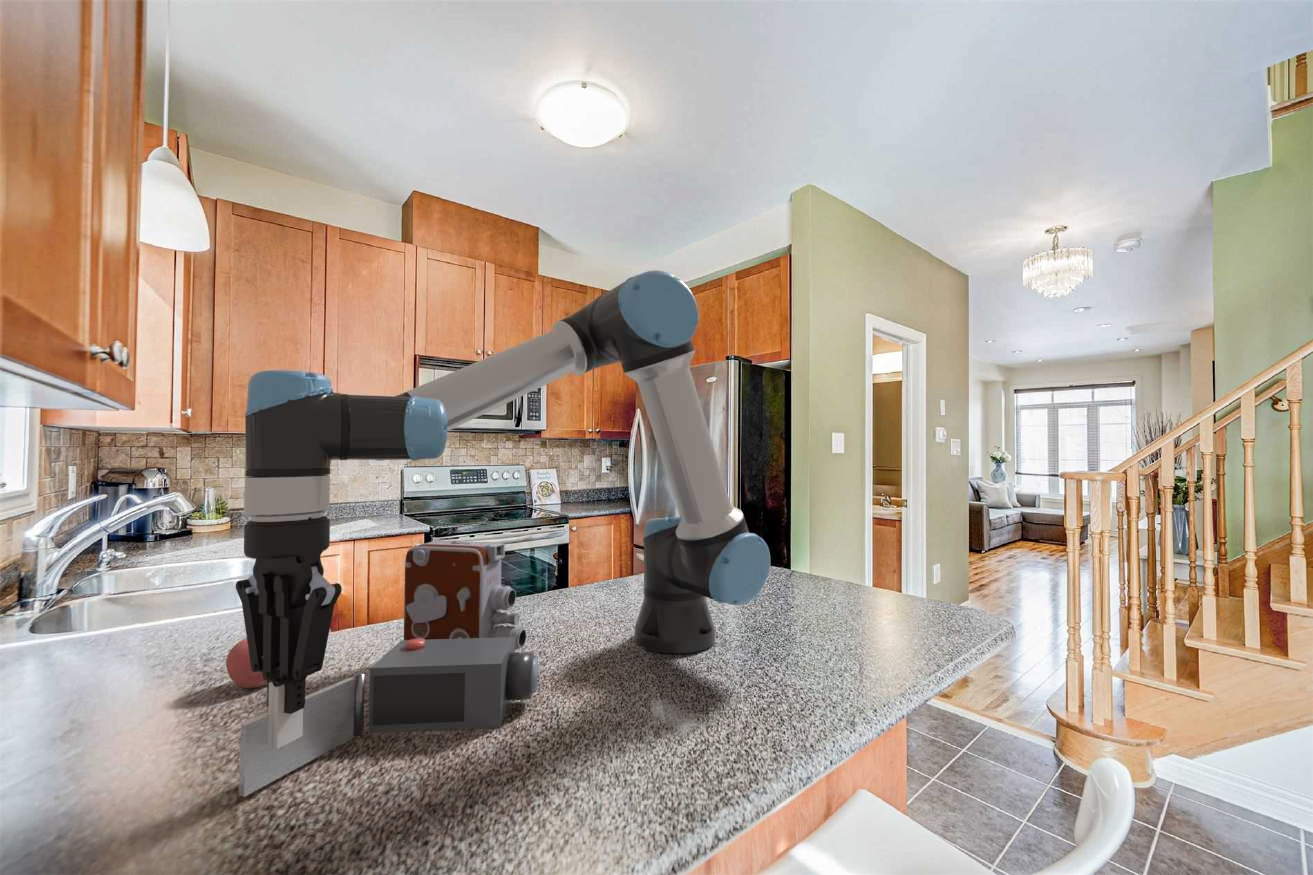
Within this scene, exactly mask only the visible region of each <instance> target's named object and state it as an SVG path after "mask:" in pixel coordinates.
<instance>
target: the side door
mask: <svg viewBox="0 0 1313 875" xmlns="http://www.w3.org/2000/svg"><path fill="white" fill-rule="evenodd" d="M365 682H366V672H365V671H359V672H356V673H354V674H353V677H348V678H345V679H343V680H340V681H339V682H336V683H334V684H331V685H329V686H327V687H324V688H322V689H320V690H317V691H315V692H313V693H310V694H307V695H305V706H304V708H303V736H301V737H300V738H298V739H296V740H294V741H292V742H290V743H288V744H286V745H284V746H282V747H280V748H278V749H275V748H271V747H268V719H269V716H268V712H266V713H263V714H260V715H258V716H256V717H254V718H251V719H249V720H246V721H245V722H242V723H240V743H239V744H240V745H239V746H240V747H239V748H240V749H239V777H238V779H239V780H238V781H239V782H238V783H239V784H238V795H239V796H240V797H243V798H246V797H247V796H249V795H251V794H252V793H254V792H256V791H257V790H259V789H261V788H264V787H265V786H267V785H269V784H271V783H272V782H274V781H276V780H278V779H280V778H282V777H283V776H285V775H287V774H289V773H291V772H293V771H295V770H297V769H298V768H301V766H304V765H305V764H307V763H309V762H312V761H313V760H314V759H317V758H319V757H320V756H322V755H324V754H325V753H328V752H329V751H331V750H333V749H335V748H337V747H339V746H340V745H342V744H344V743H346V742H348V741H350V740H351V739H353V738H354V737H355V738H356V737H360V736H362V735H363V734H364V732H365V694H366V693H365V692H366V691H365V690H366V689H365V688H366V686H365V684H366V683H365Z"/></svg>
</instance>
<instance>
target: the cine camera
mask: <svg viewBox="0 0 1313 875" xmlns="http://www.w3.org/2000/svg"><path fill="white" fill-rule="evenodd" d="M505 551H506V543H505V542H502V543H500V542H498V543H497V542H485V541H482V542H480V541H458V540H433V541H429V542H425V543H421V544H418V545H414V546H412V547H410V548H408V550H407V552H406V554H405V560H404V587H403V588H404V589H403V590H404V592H403V593H404V594H403V595H404V597H403V599H404V600H403V605H404V606H403V640H411V639H416V638H422V639H425V640H429V639H463V638H497V637H515V650H520V649H523V648H524V647H525V645H526V642H527V630H526V629H525V628H523V627H520V626H519V627H518V626H517V625H518V624H519V621H520V614H519V613H516V612H511V613H509V612H508V613H507V612H502V611H508V610H510V609H511V608H513V607H514V606H515V603H516V598H517V593H516V591H515V589H513V588H512V587H511V586H510V585H505V586H503V585H502V559H504V558H506V557H505V556H506V552H505ZM501 610H502V611H501ZM506 624H507V625H506ZM508 624H509V625H508Z"/></svg>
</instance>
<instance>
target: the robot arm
mask: <svg viewBox="0 0 1313 875" xmlns="http://www.w3.org/2000/svg"><path fill="white" fill-rule="evenodd" d="M699 313H700V312H699V307H698V303H697V301H696V298H695V296H694V294H693V292H692V290H691V289H690V288H689V287H688V285H687V284H685V283H684V282H683V281H682V279H681V278H677V277H676V276H675V275H674V274H672V273H670V272H669V271H668V272H667V271H664V270H657V269H656V270H655V269H653V270H648V271H644V272H642V273H639V274H636V275H634V276H631V277H629V278H627V279H626V280H625V281H624V282H622V283H620V284H619V285H617V286H615V287H614V288H612V289H610V290H607V292H604V293H603V294H600V295H599V296H598V297H597V298H594V300H592V301H591V302H589V303H588V304H586V305H584V307H582V308H581V309H579V310H578V311H575V312H573V313H572V314H571V315H569V316H567V317H564V318H562V319H560V320H558V321H555V322H554V323H553V325H552V327H551V330H550V331H547V332H545V333H543V334H541V335H538V336H535V337H533V338H531V339H528V340H525V341H523V342H521V343H518V344H517V345H514V346H512V347H510V348H506V349H504V350H502V351H499V352H497V353H495V354H492V355H490V356H488V357H485V358H483V359H481V360H478V361H476V362H474V363H471V364H469V365H467V366H464V367H462V368H460V369H457V370H455V371H453V372H449V373H448V374H445V375H443V376H440V377H438V378H436V379H432V380H431V381H428V382H426V383H424V384H421V385H418V386H416V387H414V388H412V389H409V390H407V391H405V392H402V393H400V394H398V395H395V396H394V395H393V396H392V395H391V396H389V395H367V394H365V395H361V394H360V395H359V394H348V393H341V392H334V388H333V387H332V380H331V379H330V377H329V376H327V375H324V374H322V373H316V372H312V371H311V372H310V371H309V372H307V371H302V370H301V371H300V370H291V369H290V370H288V369H287V370H286V369H272V370H269V369H267V370H261V371H258V372H256V373H254V374H253V375H252V376H251V377H250V378H249V380H248V384H247V385H248V387H247V398H246V410H245V412H244V418H245V431H244V432H245V477H244V501H243V503H244V504H243V514H244V515H246V516H247V517H250V518H251V519H250V520H247V521H246V523H245V524H243V526H244V527H243V555H244V556H246V557H247V558H248V559H249V558H250V559H255V562H254V564H253V567H252V574H251V576H249V577H248V578H246V579H240V580H237V581H236V583H235V589H236V590H235V591H237V592H236V593H237V594H238V596H239V599H240V601H241V608H242V615H243V619H244V620H243V621H244V622H243V623H244V629H245V634H246V638H247V642H248V649H249V656H250V663H251V669H252V671H253V672H258V671H260V672H262V673H263V678H264V680H266V681H267V684H266V686H267V687H266V693H267V696H266V706H267V711H268V716H269V719H268V747H271V748H275V749H278V748H280V747H282V746H284V745H286V744H288V743H290V742H292V741H294V740H296V739H298V738H300V737H301V736H303V708H304V706H305V696H306V681H307V679H306V678H307V677H308V676H310V675H313V674H315V673H317V672H320V671H322V669H323V665H324V661H325V656H326V649H327V645H328V644H327V643H328V639H329V634H330V628H331V624H332V618H333V613H334V608H335V605H336V602H337V601H338V599H339V597H340V595H341V593H342V590H343V589H342V585H341V584H340V583H339V582H338V583H337V582H335V583H332V584H330V582H328V581H327V579H326V578H325V577H324V573H325V569H324V567H323V566H324V565H323V563H322V559H321V556H322V554H323V552H325V551H327V549H329V547H330V544H331V537H330V536H331V535H330V534H331V531H330V530H331V525H330V524H331V520H330V518H328V517H329V516H327V515H324V513H325V512H328V511H329V510H330V508H331V507H330V505H331V502H330V499H331V498H330V492H331V490H330V489H331V488H330V487H331V486H330V485H331V484H330V483H331V482H330V481H331V478H330V477H331V476H330V475H331V464H332V463H331V462H332V461H350V460H351V461H352V460H353V461H355V460H356V461H360V460H362V461H367V460H369V461H399V460H400V461H401V460H405V461H406V460H411V461H413V462H416V461H420V460H432V459H433V460H434V459H438V458H440V457H441V456H442V455H443V454H444V453H445V449H446V446H447V439H448V432H449V431H451V430H454V429H455V428H457V427H460V426H461V425H463V424H466V423H468V422H470V421H473V420H474V419H476V418H479V417H481V416H482V415H484V414H487V413H490V412H491V411H493V410H496V409H498V408H499V407H501V406H504V405H506V404H508V403H510V402H513V401H515V400H517V399H519V398H522V397H523V396H525V395H528V394H529V393H531V392H533V391H536V390H538V389H540V388H542V387H544V386H547V385H548V384H550V383H552V382H555V381H557V380H559V379H562V378H564V377H566V376H568V375H569V374H572V375H574V376H582V375H583V374H586V373H588V372H590V371H592V370H595V369H598V368H601V367H605V366H609V365H613V364H618V363H620V365H621V368H622V371H623V373H624V376H626V377H628V378H630V379H632V380H634V381H635V382H636V383H637V387H638V388H639V393H640V396H641V399H642V402H643V404H644V408H645V411H646V415H647V417H648V419H649V420H648V421H649V423H650V427H651V429H652V433H653V436H654V437H653V438H654V439H655V442H656V446H657V449H658V451H659V455H660V458H661V462H662V465H663V467H664V471H665V474H666V477H667V480H668V484H669V486H670V490H671V493H672V496H673V499H674V502H675V504H676V508H677V511H678V514H679V516H670V517H659V518H650V519H648V520H647V521H646V522H645V523H644V529H643V537H642V542H643V601H642V603H641V606H640V610H639V612H638V616H637V619H636V622H635V625H634V642H635V644H636V645H638V646H639V647H640V648H642V649H645V650H647V651H651V652H655V653H660V654H661V653H662V654H671V655H672V654H675V655H676V654H690V653H691V654H692V653H697V652H702V651H705V650H707V649H709V648H711V647H712V646H713V645H715V642H716V627H715V624H714V621H713V618H712V615H711V614H712V613H711V612H710V608H709V605H708V602H707V598H708V599H711V600H713V601H715V602H717V603H719V604H728V605H731V606H732V605H733V606H741V605H745V604H747V603H749V602H751V601H752V600H754V599H755V598H756V597H757V596H758V595H759V594H760V592H761V591H762V590H763V588H764V586H765V584H766V580H767V579H768V577H769V575H770V571H771V554H770V548H769V546H768V544H767V543H766V541H765V540H764V539H763V538H762V537H761V536H759V535H758V534H756V533H754V532H750V531H749V528H748V525H747V522H746V519H745V516H744V513H743V511H742V510H741V509H739V508H737V507H735V506H733V505H732V503H731V500H730V497H729V495H728V490H727V488H726V485H725V480H724V477H723V474H722V471H721V466H720V465H719V464H720V463H719V460H718V457H717V455H716V451H715V448H714V444H713V441H712V437H711V435H710V430H709V428H708V425H707V421H706V418H705V415H704V412H703V408H702V405H701V401H700V398H699V394H698V390H697V387H696V384H695V381H694V378H693V375H692V370H691V368H690V365H691V362H692V360H693V357H694V356H695V354H696V351H695V347H694V344H693V341H692V340H693V339H692V338H693V337H694V336H695V334H696V332H697V329H698V328H697V326H698V324H699V320H700V314H699ZM262 656H263V658H262Z"/></svg>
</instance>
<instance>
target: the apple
mask: <svg viewBox="0 0 1313 875" xmlns="http://www.w3.org/2000/svg"><path fill="white" fill-rule="evenodd" d="M262 658H263V656H262ZM225 665H226V671H227V673H228V677H229V678H230V680H231V681H232V682H233V683H234V684H235V685H237V686H239V687H241V688H245V689H254V688H259V687H263V686H267V681H266V680H264V678H263V673H262V672H260V671H258V672H253V671H252V669H251V663H250V656H249V649H248V642H247V637H246V638H243V639H242V640H240V641H238V642H237V643H236V644H234V646H233V647H232V648H231V649H230V650H229V652H228V653H227V656H226V660H225Z"/></svg>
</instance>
